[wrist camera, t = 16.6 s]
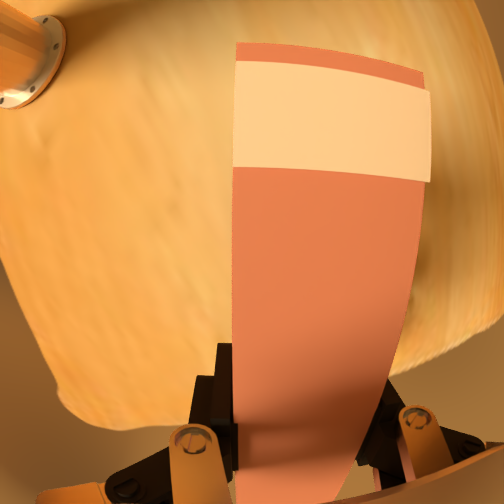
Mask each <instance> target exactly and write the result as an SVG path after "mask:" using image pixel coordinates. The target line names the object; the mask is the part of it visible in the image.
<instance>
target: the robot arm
mask: <svg viewBox="0 0 504 504" xmlns="http://www.w3.org/2000/svg"><path fill="white" fill-rule="evenodd" d="M65 46H66V32H65V28H64V26H63V24H62V23H61V22H60V21H59V20H58V19H56V18H54V17H53V16H50V15H41V16H37V17H34V18H30V17H28V16H27V15H25V14H23V13H22V12H20V11H18V10H17V9H15V8H13V7H12V6H10V5H8V4H6V3H5V2H3V1H1V0H0V107H1V108H4V109H17V108H20V107H23V106H25V105H26V104H28V103H30V102H31V101H32V100H34V99H35V98H36V97H37V96H38V95H39V94H40V93H41V92H42V91H43V90H44V89H45V87H46V86H47V85H48V84H49V82H50V81H51V79H52V78H53V76H54V75H55V73H56V71H57V69H58V67H59V65H60V63H61V60H62V57H63V55H64V51H65ZM355 460H357V463H358V466H363V465H368V464H369V465H370V466H371V467H373V476H374V483H375V491H376V492H373V493H370V494H366V495H362V496H357V497H353V498H348V499H343V500H338V501H332V502H326V503H320V504H504V443H503V442H485V444H484V443H483V442H482V441H481V440H480V439H479V438H477V437H474V436H472V435H468V434H465V433H461V432H458V431H454V430H451V429H448V428H445V427H441V426H439V424H438V422H437V419H436V417H435V415H434V414H433V412H432V411H431V410H429V409H428V408H426V407H424V406H420V405H410V406H405V404H404V403H403V401H402V400H401V398H400V396H399V395H398V393H397V392H396V390H395V389H394V387H393V386H392V384H391V382H390V381H389V379H388V378H387V381H386V384H385V387H384V390H383V393H382V396H381V398H380V401H379V404H378V407H377V409H376V411H375V413H374V416H373V418H372V421H371V423H370V426H369V428H368V431H367V433H366V435H365V438H364V440H363V442H362V445H361V447H360V449H359V451H358V453H357V456H356V458H355ZM233 471H239V464H238V423H234V417H233V364H232V343H218V345H217V354H216V363H215V373H214V376H204V375H197V377H196V382H195V388H194V393H193V399H192V405H191V411H190V417H189V423H188V424H186V425H183V426H180V427H178V428H177V429H175V430H174V431H173V432H172V434H171V435H170V438H169V446H168V447H167V448H165V449H163V450H161V451H159V452H157V453H155V454H154V455H151V456H149V457H147V458H145V459H143V460H142V461H139V462H137V463H135V464H133V465H131V466H129V467H127V468H125V469H123V470H120V471H119V472H116V473H114V474H113V475H111V476H110V477H109V478H108V479H107V481H106V482H105V483H101V484H97V483H96V482H92V483H87V484H82V485H77V486H71V487H65V488H58V489H51V490H46V491H43V492H41V493H40V494H39V495H38V496H37V498H36V500H35V504H232V499H231V496H230V492H229V487H228V483H229V482H230V481H232V478H233Z"/></svg>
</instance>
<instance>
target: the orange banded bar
mask: <svg viewBox="0 0 504 504" xmlns="http://www.w3.org/2000/svg"><path fill="white" fill-rule="evenodd" d="M430 175H431V106H430V91H428V90H424V78H423V72H420V71H416V70H413V69H410V68H407V67H403V66H400V65H396V64H392V63H389V62H385V61H381V60H377V59H372V58H368V57H364V56H359V55H354V54H349V53H343V52H338V51H332V50H325V49H319V48H311V47H303V46H293V45H282V44H268V43H241V42H237V50H236V69H235V98H234V133H233V198H232V364H233V417H234V423H238V464H239V471H235V481H236V504H320V503H326V502H332V501H334V499H335V498H336V496H337V494H338V492H339V490H340V489H341V487H342V485H343V483H344V481H345V479H346V477H347V475H348V473H349V471H350V469H351V467H352V465H353V463H354V461H355V458H356V456H357V453H358V451H359V449H360V447H361V445H362V442H363V440H364V438H365V435H366V433H367V431H368V428H369V426H370V423H371V421H372V418H373V416H374V413H375V411H376V409H377V407H378V404H379V401H380V398H381V396H382V393H383V390H384V387H385V384H386V381H387V378H388V375H389V372H390V369H391V366H392V362H393V359H394V356H395V352H396V349H397V345H398V342H399V338H400V334H401V330H402V327H403V323H404V318H405V314H406V310H407V306H408V301H409V296H410V292H411V287H412V281H413V276H414V271H415V265H416V259H417V252H418V246H419V238H420V231H421V222H422V213H423V202H424V189H425V182H430Z"/></svg>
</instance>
